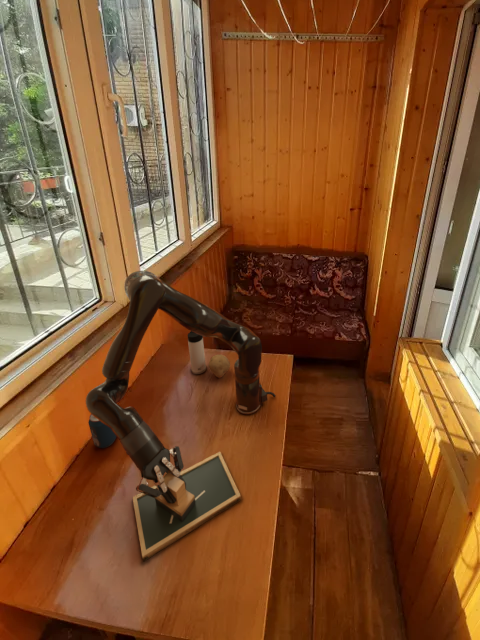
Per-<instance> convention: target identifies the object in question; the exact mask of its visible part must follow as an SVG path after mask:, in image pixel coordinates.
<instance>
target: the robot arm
mask: <svg viewBox="0 0 480 640" xmlns="http://www.w3.org/2000/svg"><path fill="white" fill-rule="evenodd" d="M123 285H124V286H123V287H124V288H123V289H124V293H125V295H126V297H127V298H128V300H129V305H128V310H127V315H126V318H125V321H124V324H123V326H122V327H121V329H120V331H119V332H118V333H117V335H116V336H115V338H114V339H113V341H112V342H111V344H110V347H109V348H108V350H107V353H106V356H105V359H104V362H103V364H102V369H101V373H102V376H103V377H104V378H105V380H104V382H102V383H100V384H98V385H97V386H95V387H94V388H92V389H90V390H89V391H88V392H87V394H86V396H85V407H86V409H87V411H88V412H89V414H90V415H91V414H92V415H93V416H94V417H95V418H97V419H98V420H100V421H101V422H102V423H104V424H105V425H106V426H108V427H109V428H111V429H112V431H113V432H114V434H115V435H116V436H117V437H116V439H118V441H119V443H120V444H121V446H122V448H123V449H124V451H125V453H126V455H127V456H128V457H129V458H130V460H131V461H132V462H133V463H134V465H135V467H137V469H138V471H140V476H141V479H140V482H139V484H138V485H137V486H135V491H137V492H139V493H143V494H146V495H148V496H150V497H153V498H155V497H159V496H160V495H162V496H163V497H164V498H165V500H166V501H167V503H169V504H170V503H172V504H173V503H175V502H176V498H175V497H174V496H173V494H172V493H171V492H170V490H169V489H167V486H166V484H165V482H164V478H163V477H164V476H165V474H167V473H168V472H169V473H171V474H173V475H174V476H176V477H177V478H179V479H181V480H182V481H184V479H183V478H182V477H181V475H180V472H182V471H183V470H184V463H183V462H184V461H183V457H182V454H181V449H180V446H179V445H176V446H174V447H173V448H171V449H168V448H167V447H165V446H164V444H163V442H162V441H161V440H160V438H159V437H158V436H157V434H156V433H155V432H154V431H153V429H152V428H151V426H150V425H149V424H148V423H147V422H146V421H145V420H144V418H143V417H142V416H141V414H140V413H139V412H138V411H137V409H136V408H135V407H134V406H131V405H130V406H126V407H122V406H121V405H119V404H118V403H120V402H121V401H122V400H123V399H124V397H125V396H126V394H127V391H128V389H129V383H130V372H131V369H132V367H133V364H134V361H135V359H136V357H137V353H138V351H139V348H140V346H141V343H142V341H143V338H144V336H145V334H146V332H147V330H148V329H149V326H150V324H151V323H152V321H153V319H154V317H155V315H156V314H157V312H158V310H160V311H162V312H164V313H165V314H166V315H167V316H168V317H170V318H171V319H173V320H174V321H175V322H176V323H177V324H179V325H181V326H182V327H183V328H185V329H187V330H188V331H189V332H190V331H192V332H194V333H196V334H199V335H201V336H203V338H204V337H205V338H217V339H220V340H221V341H222V342H224V343H225V344H227V345H228V346H229V347H231V349H232V351H234V352H235V353H236V354H237V357H238V359H237V360H235V362H234V364H233V365H234V366H233V367H234V369H233V371H234V386H235V387H234V388H235V406H236V410H237V411H238V413H240V414H242V415H252V414H255V413H257V412H258V411H259V409H260V407H262V406H263V403H264V402H267V401H268V395H270V396H272V397H273V398H276V394H275V393H274V392H272V391H266V390H265V389H264V388H263V386H262V384H261V380H260V379H261V378H260V377H261V375H260V366H261V364H262V354H263V353H262V352H263V344H262V339H260V337H259V336H258V335H257V334H256V333H255V332H254V331H252V329H251V328H249V327H247V326H244V325H242V324H239V323H237V322H234V321H232V320H230V319H228V318H227V317H226V316H225V315H224V314H222V313H221V312H219V311H217V310H216V309H214V308H212V307H211V306H210V305H207V304H206V303H204V302H202V301H200V300H199V299H196V298H194V297H192V296H190V295H188V294H186V293H183V292H181V291H180V290H177V289H175V288H174V287H172V286H171V285H169V284H168V283H167V282H165V281H164V280H163V279H161V277H160V278H159V277H158V276H157V275H156V274H155V273H153V272H151V271H148V270H136V271H134V272H132V273H130V274H129V275H127V276H126V278H125V280H124V284H123ZM171 457H172V459H173V464H172V462H171ZM147 480H150V481H152V482H153V484H154V486H157V489H158V490H156V489H153V488H151V487H152V486H149V483H148V482H147ZM184 483H185V489H186V482H185V481H184Z"/></svg>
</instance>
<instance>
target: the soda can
mask: <svg viewBox="0 0 480 640" xmlns="http://www.w3.org/2000/svg"><path fill="white" fill-rule="evenodd" d="M88 426H89V430H90V433H91V438H92V441H93V445H94V447H96V448H99V449H106V448H108V447H110V446H111V445H113V444H114V442H115V441H116V439H117V436H116V435H115V434H114V432H113V431H112V429H111V428H109V427H108V426H106V425H105V424H104V423H102V422H101V421H100V420H98V419H97V418H95V417H94V416H93V415H92V414H91V413H90V415H89V418H88Z"/></svg>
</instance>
